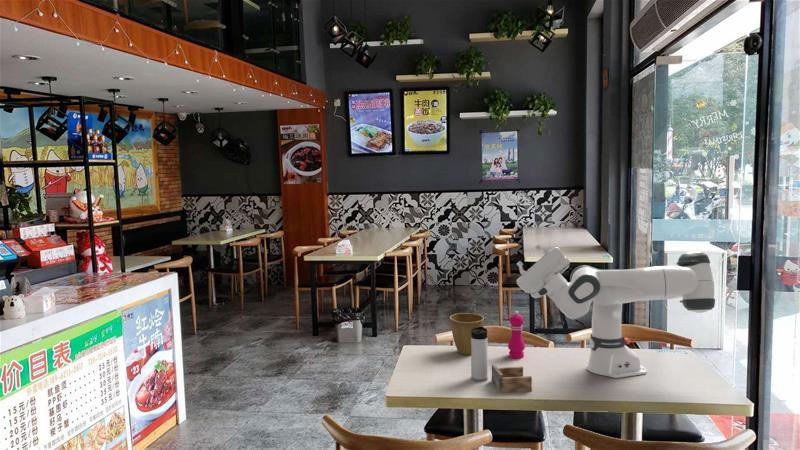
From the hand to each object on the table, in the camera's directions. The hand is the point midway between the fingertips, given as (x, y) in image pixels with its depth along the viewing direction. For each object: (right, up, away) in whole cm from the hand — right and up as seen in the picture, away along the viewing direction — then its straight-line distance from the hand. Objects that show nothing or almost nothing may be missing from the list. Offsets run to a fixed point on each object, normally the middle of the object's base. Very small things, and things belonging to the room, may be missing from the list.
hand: (527, 253), depth 223 cm
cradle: (-5, -50, +4) cm, 50 cm away
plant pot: (-18, -46, +44) cm, 66 cm away
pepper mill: (+3, -46, +38) cm, 60 cm away
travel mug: (-16, -49, +12) cm, 53 cm away
